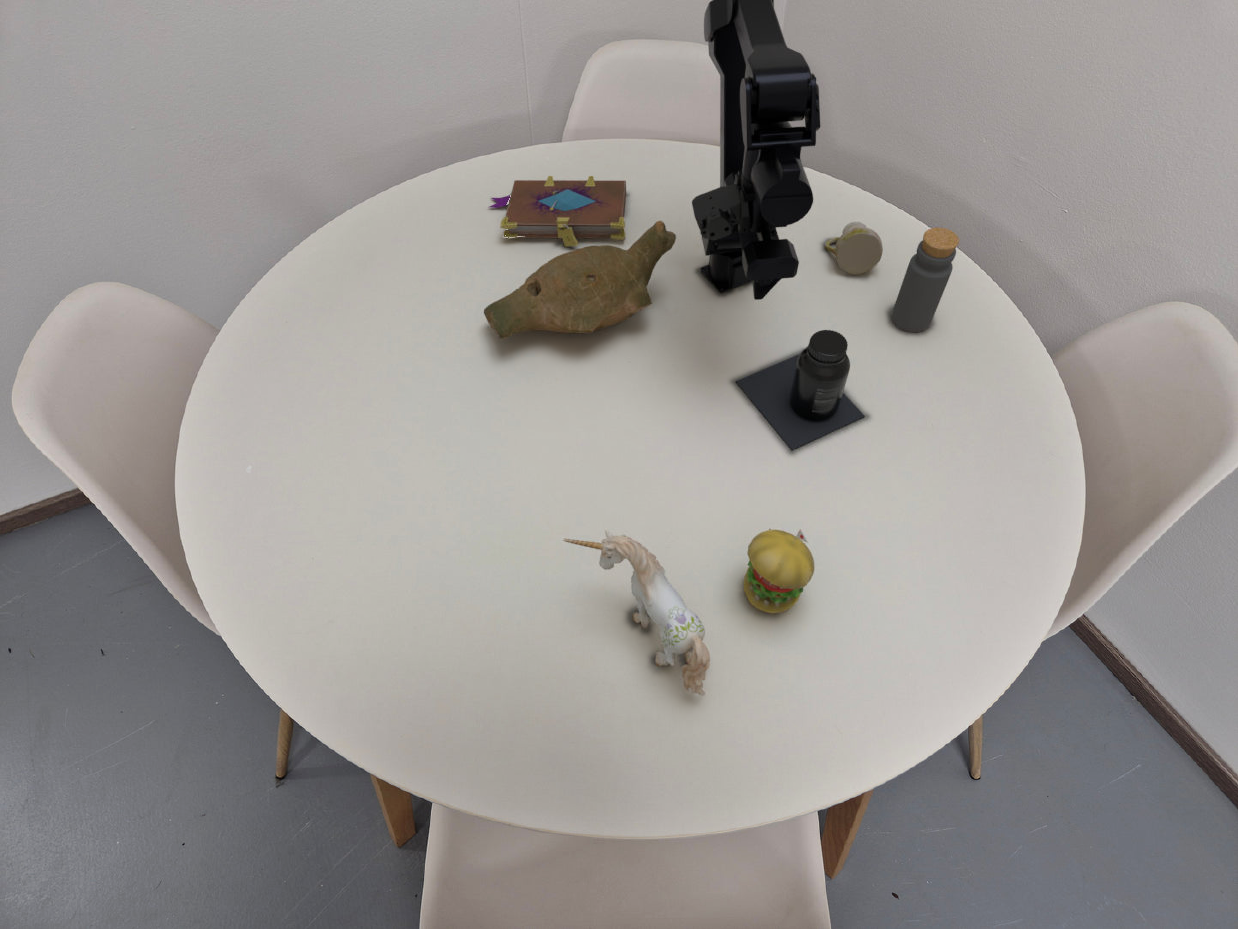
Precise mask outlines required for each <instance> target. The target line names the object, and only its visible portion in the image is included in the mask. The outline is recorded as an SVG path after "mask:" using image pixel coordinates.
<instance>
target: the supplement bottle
mask: <svg viewBox="0 0 1238 929" xmlns="http://www.w3.org/2000/svg"><path fill="white" fill-rule="evenodd" d="M807 344H808V345H807V346H806V347H804V348H803V349H802V350H801V351H800V352H799V356H798V360H797V364H796V369H795V374H794V379H793V384H792V389H791V394H790V405H791V407H792V409H793V411H794V412H795V413H796V414H797V415H798V416H800V417H802V418H804V419H806V420H810V421H823V420H826V419H829V418H830V417H832V416H833V415H834V414H835V413H836V412H837V410H838V408H839V405H840V402H841V398H842V395H843V393H844V391H845V387H846V384H847V380H848V378H849V373H850V369H851V361H850V358H849V356H848V354H847V351H848V344H849V343H848V341H847V338H846V337H845V336H844V335H843V334H841V333H840V332H838V331H836V330H834V329H833V330H831V329H822V330H818V331H815V333H813V334H812V335H810V338H809V341H808V343H807Z"/></svg>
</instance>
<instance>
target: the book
mask: <svg viewBox="0 0 1238 929" xmlns="http://www.w3.org/2000/svg"><path fill="white" fill-rule="evenodd" d="M510 195H511V197H510ZM509 198H510V200H509ZM491 200H493V201H494V202H496V203H493V204H492V205H489V206H488V208H493V209H494V208H495V209H496V208H502V207H507V208H506V212H505V216H504V217H503V218H502V220H501V221H500V226H499V228H500V229H504V231H503V234H502V235H503V236H504V237H508V238H509V237H517V236H525V237H524V238H535V237H537V238H538V239H539V238H543V239H545V238H546V239H547V238H549V239H550V238H551V239H552V238H553V239H554V238H555V239H556V238H558V239H562V241H563V245H564V247H577V246H578V245H579V241H578V240H577V239H587V238H588V239H612V240H616V241H623V240H626V230H625V228H626V221H625V211H626V210H625V209H626V200H627V180H595V177H594V176H593V175H589V176H588V178H587V180H581V179H580V180H572V179H571V180H565V179H563V180H561V179H559V180H557V179H554V176H553V175H548V177H547V178H546V180H545V179H544V180H539V179H537V180H533V179H532V180H527V179H524V180H523V179H521V180H520V179H519V180H517V179H516V180H514V181H513V185H512V189H511V193H510V194H508V195H505V196H502V197H491ZM508 200H509V204H508V205H506V204H507V202H508ZM506 229H508V230H506ZM505 235H506V236H505ZM503 236H502V237H503ZM517 238H518V237H517Z"/></svg>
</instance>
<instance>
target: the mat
mask: <svg viewBox="0 0 1238 929" xmlns="http://www.w3.org/2000/svg"><path fill="white" fill-rule="evenodd" d="M799 354H800V353H799ZM799 354H796V355H794V356H792V357H791V356H790V357H789V358H786V359H784V360H781V361H780V362H777V363H775V364H772V365H770V366H768V367H765V368H763V369H761V370H758V371H756V372H754V373H751V374H749V375H747V376H743V377H741V378H740V379H737V380H735V383H736V385H737V386H738V387H739V388H740V390H741V391H742V392H743V393H744V395H745V396H746V397H747V398H748V399H749V400H750V401H751V403H752V404H753V406H755V408H756V409H757V410H758V412H760V414H761V415H762V416H763V417H764V419H765V420H766V421H767V423H769V425H770V426H771V427H772V428H773V430H774V431H775V432H776V433H777V434H778V436H779V437H780V438H781V439H782V441H784V443H785V444H786V445H787V446H788V448H789V449H790V450H791V451H794V450H795V451H796V450H798V449H799V448H801V447H803V446H805V445H807V444H810V443H811V442H815V441H816V440H819V439H821V438H823V437H825V436H827V435H829V434H832V433H834V432H836V431H838V430H840V429H842V428H844V427H847V426H849V425H851V424H853V423H855V422H857V421H859V420H862V419H864V418H865V414H864V413H863V411H861V410H860V409H859V408H858V407H857V406H856V404H855V403H853V401H852V400H851V399H850V398H849V397H848V396H847V395H846V394H845V393H844V392H843V395H842V398H841V402H840V405H839V408H838V410H837V412H836V413H835V414H834V415H833V416H832V417H830V418H829V419H826V420H823V421H810V420H806V419H804V418H802V417H800V416H798V415H797V414H796V413H795V412H794V411H793V409H792V407H791V405H790V394H791V389H792V384H793V379H794V374H795V369H796V364H797V360H798V356H799Z"/></svg>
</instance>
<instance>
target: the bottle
mask: <svg viewBox="0 0 1238 929" xmlns="http://www.w3.org/2000/svg"><path fill="white" fill-rule="evenodd" d="M922 235H923V236H922V240H921V241H920V242H919V243H918V244H917V248H916V253H915V254H913V256H911V258H910V261H909V263H908V266H907V268H906V271H905V274H904V276H903V280H902V282H901V284H900V289H899V291H898V294H897V297H896V300H895V303H894V306H893V309H892V312H891V320H892V321H891V322H892V323H893V324H894V325H895V327H897V328H898V329H900V330H901V331H904V332H907V333H920V332H924V331H926V330H927V329H928V328H930V326H931V323H932V321H933V319H934V316H935V314H936V312H937V309H938V307H939V304H940V302H941V299H942V297H943V294H944V293H945V289H946V287H947V286H948V285H947V284H948V282H949V281H950V280H949V279H950V277H951V274H952V272H953V268H954V267H953V262H954V260H955V258H956V254H957V247H958V245H960V244H959V243H960V238H959V236H958V235H957V234H956V233H955V232H954V231H952V230H951V229H948V228H946V227H945V228H944V227H932V228H929V229H927V230H926V231H925V232H924V233H923V234H922Z"/></svg>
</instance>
